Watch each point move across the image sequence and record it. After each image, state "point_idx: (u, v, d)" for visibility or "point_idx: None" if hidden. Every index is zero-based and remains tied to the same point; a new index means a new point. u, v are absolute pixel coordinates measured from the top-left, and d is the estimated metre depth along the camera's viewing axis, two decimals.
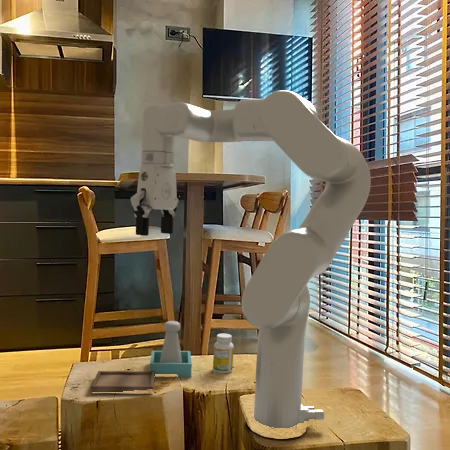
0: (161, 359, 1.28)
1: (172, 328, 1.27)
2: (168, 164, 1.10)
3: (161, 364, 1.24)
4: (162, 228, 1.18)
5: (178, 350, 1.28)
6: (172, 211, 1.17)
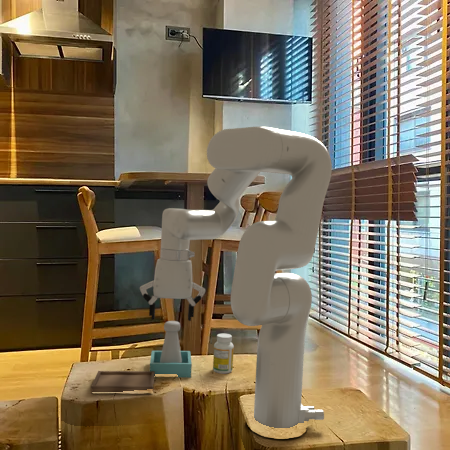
0: (161, 359, 1.28)
1: (172, 328, 1.27)
2: None
3: (161, 364, 1.24)
4: (154, 315, 1.28)
5: (178, 350, 1.28)
6: None
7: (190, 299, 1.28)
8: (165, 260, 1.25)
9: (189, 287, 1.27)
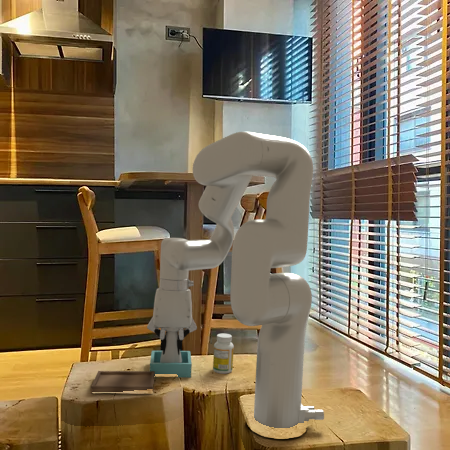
0: (161, 359, 1.28)
1: (172, 328, 1.27)
2: None
3: (161, 364, 1.24)
4: None
5: None
6: None
7: (181, 332, 1.28)
8: (164, 290, 1.25)
9: (189, 316, 1.27)
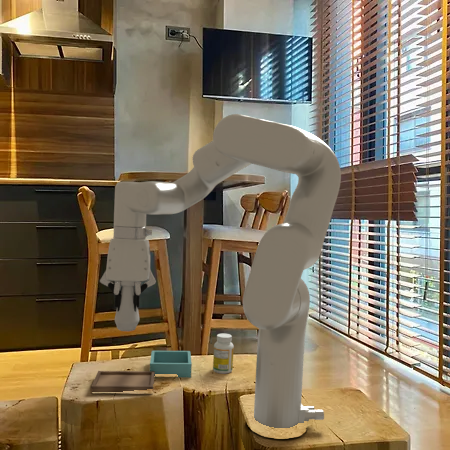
0: (116, 316, 1.15)
1: (128, 281, 1.14)
2: None
3: (161, 364, 1.24)
4: None
5: None
6: None
7: (138, 286, 1.15)
8: (118, 239, 1.12)
9: (146, 269, 1.14)
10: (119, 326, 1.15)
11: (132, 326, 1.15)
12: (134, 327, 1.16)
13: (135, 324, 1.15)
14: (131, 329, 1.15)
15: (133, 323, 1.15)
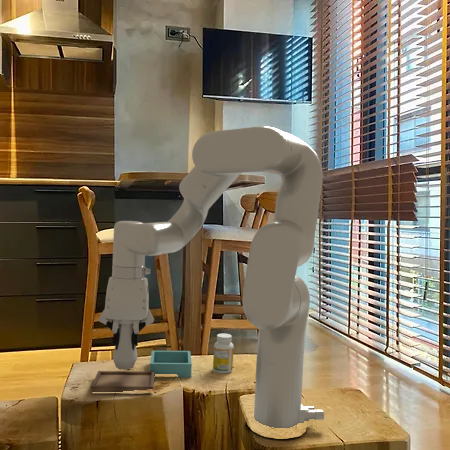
0: (114, 355, 1.16)
1: (126, 320, 1.15)
2: None
3: (161, 364, 1.24)
4: None
5: None
6: None
7: (136, 325, 1.16)
8: (116, 278, 1.13)
9: (144, 308, 1.15)
10: (117, 365, 1.15)
11: (130, 365, 1.15)
12: (132, 365, 1.16)
13: (133, 362, 1.16)
14: (129, 367, 1.16)
15: (131, 362, 1.15)
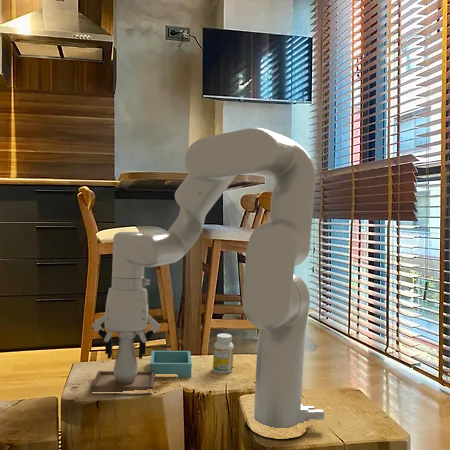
0: (114, 369, 1.16)
1: (126, 334, 1.15)
2: None
3: (161, 364, 1.24)
4: (111, 353, 1.16)
5: (133, 359, 1.16)
6: None
7: (142, 334, 1.16)
8: (116, 290, 1.13)
9: (144, 319, 1.15)
10: (118, 379, 1.15)
11: (131, 379, 1.15)
12: (133, 379, 1.16)
13: (134, 377, 1.16)
14: (130, 382, 1.16)
15: (132, 376, 1.15)
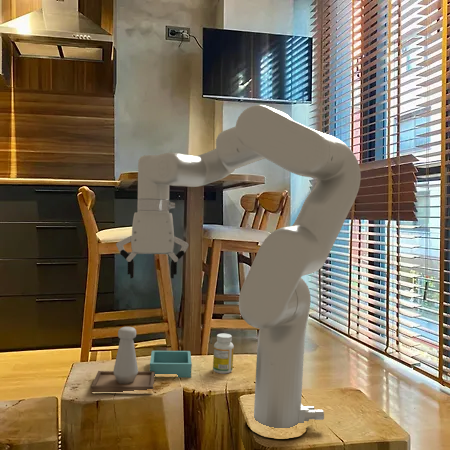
0: (114, 369, 1.16)
1: (126, 334, 1.15)
2: None
3: (161, 364, 1.24)
4: (133, 273, 1.16)
5: (133, 359, 1.16)
6: None
7: (172, 254, 1.17)
8: (143, 211, 1.14)
9: (170, 240, 1.16)
10: (118, 379, 1.15)
11: (131, 379, 1.15)
12: (133, 379, 1.16)
13: (134, 377, 1.16)
14: (130, 382, 1.16)
15: (132, 376, 1.15)
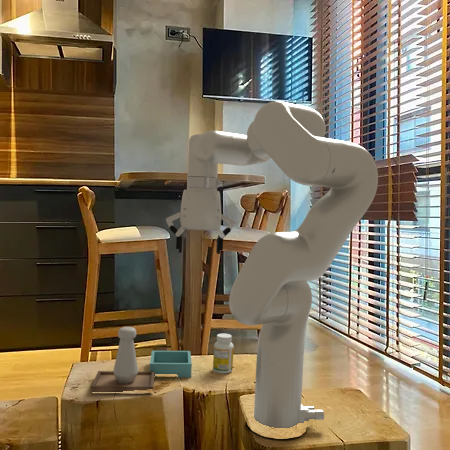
0: (114, 369, 1.16)
1: (126, 334, 1.15)
2: None
3: (161, 364, 1.24)
4: (181, 248, 1.21)
5: (133, 359, 1.16)
6: None
7: (219, 231, 1.21)
8: (193, 188, 1.18)
9: (218, 217, 1.20)
10: (118, 379, 1.15)
11: (131, 379, 1.15)
12: (133, 379, 1.16)
13: (134, 377, 1.16)
14: (130, 382, 1.16)
15: (132, 376, 1.15)
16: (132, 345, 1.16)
